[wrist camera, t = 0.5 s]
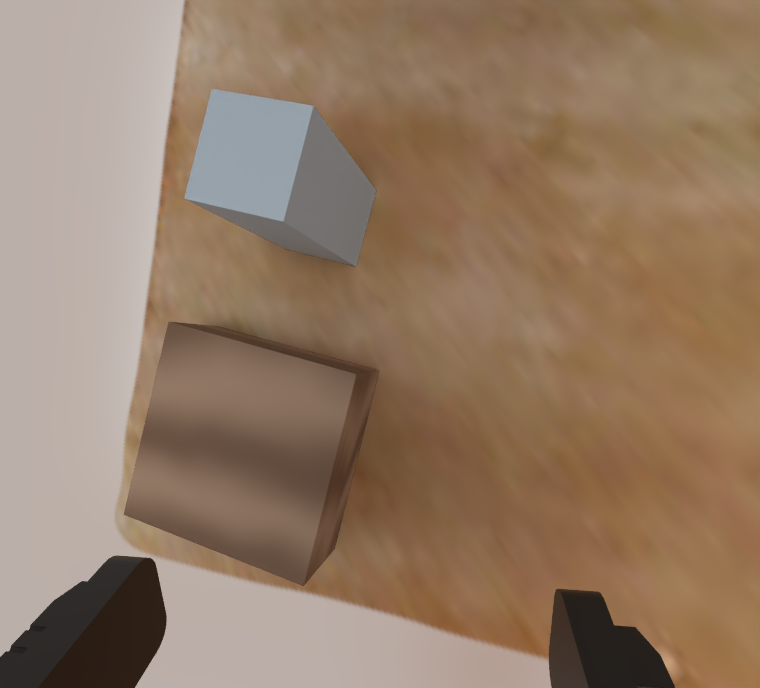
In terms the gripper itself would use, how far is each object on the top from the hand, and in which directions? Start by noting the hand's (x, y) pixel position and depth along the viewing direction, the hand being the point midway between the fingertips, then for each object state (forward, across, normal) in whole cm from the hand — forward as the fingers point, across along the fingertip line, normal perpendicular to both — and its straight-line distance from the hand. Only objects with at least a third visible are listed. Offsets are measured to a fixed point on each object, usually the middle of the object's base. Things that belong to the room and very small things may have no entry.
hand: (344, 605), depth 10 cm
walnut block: (+24, +10, +9) cm, 27 cm away
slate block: (+28, +6, -6) cm, 29 cm away
